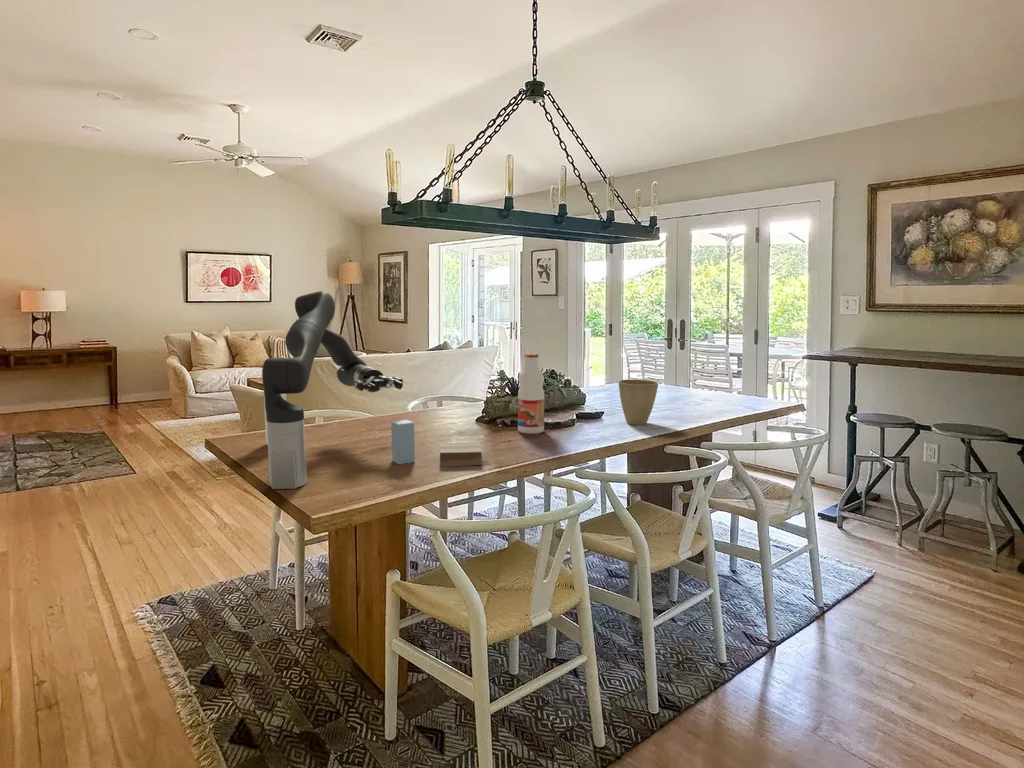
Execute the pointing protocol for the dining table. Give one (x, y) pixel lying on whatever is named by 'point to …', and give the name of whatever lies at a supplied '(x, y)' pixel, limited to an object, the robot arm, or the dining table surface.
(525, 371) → the fruit juice
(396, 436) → the blue block
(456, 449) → the walnut plinth
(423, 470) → the dining table surface
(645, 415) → the plant pot
